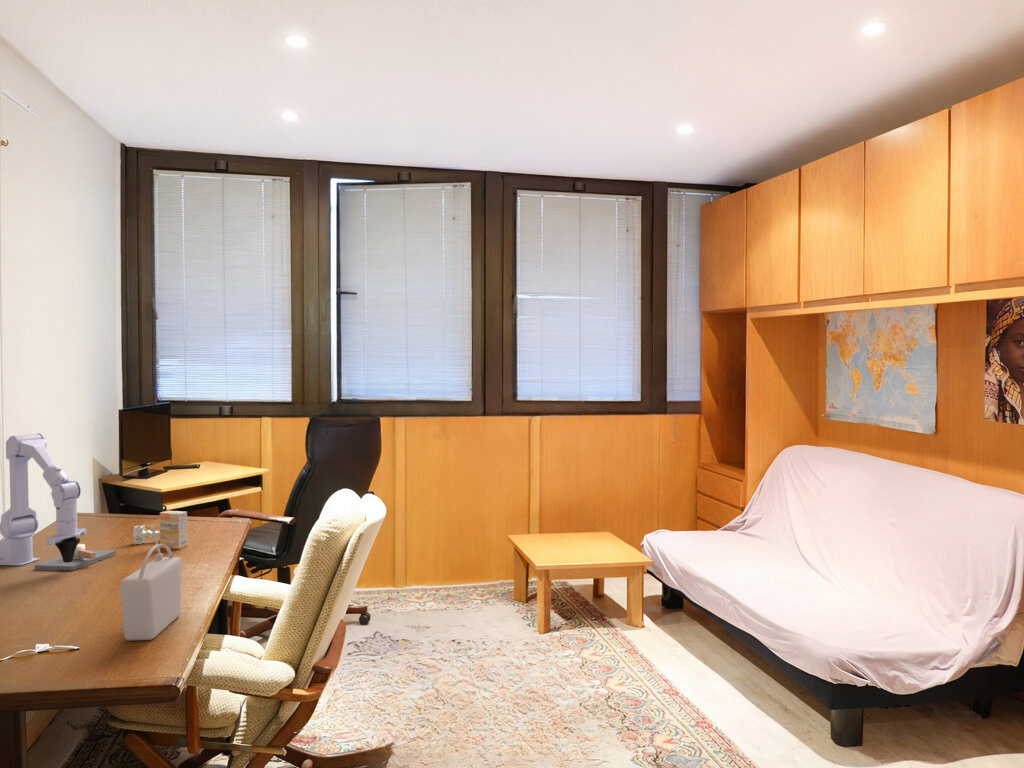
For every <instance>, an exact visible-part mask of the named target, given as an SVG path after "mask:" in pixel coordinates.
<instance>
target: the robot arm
mask: <svg viewBox="0 0 1024 768" xmlns="http://www.w3.org/2000/svg"><path fill="white" fill-rule="evenodd" d="M8 437H9V438H8V439H7V440H6V441H5V457H6V460H8V461H9V465H8V466H9V467H8V468H9V498H10V499H9V500H10V501H9V504H10V507H9V509H7V510H6V511H5V512H3V513H2V514H1V515H0V535H1V536H2V538H0V566H24V565H27V564H30V563H33V562H36V561H39V560H40V557H34V553H33V552H34V551H33V549H34V548H33V546H34V545H33V544H34V543H33V536H34V535H35V532H37V530H38V529H39V519H38V516H37V511H36V510H35V509H33V508H31V507H30V503H29V500H30V499H29V471H28V470H29V461H30V460H31V459H33V460H34V461H35V463H36V464H38V466H39V468H41V470H43V471H42V472H43V473H42V477H43V479H44V480H45V482H46V483H47V485H48V486H49V487H50V489H51V492H50V495H51V498H52V501H53V506H54V507H55V513H56V514H55V515H56V516H55V517H56V519H55V520H56V523H55V524H56V525H55V526H56V533H55V535H53V536H51V537H48V538H46V545H47V546H53V545H54V546H56V548H57V550H59V553H60V556H62V558H63V561H64V562H67V563H69V562H72V560H73V556H74V553H75V550H76V547H77V545H78V544H80V541H81V537H79V536H85V535H87V530H88V529H87V528H78V507H77V506H78V505H77V504H78V503H77V501H78V500H77V499H79V498H80V496H81V491H82V490H81V487H80V484H79V482H78V481H76V480H74V479H72V478H71V479H70V477H69V476H68V475H67V473H66V472H65V471H64V469H63V467H62V466H61V465H58V464H55V462H54V461H53V459H52V457H51V455H50V454H49V452H48V449H47V447H48V441H47V439H46V437H45V435H44V434H42V433H35V434H23V435H10V436H8Z"/></svg>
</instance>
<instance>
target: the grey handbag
mask: <svg viewBox="0 0 1024 768" xmlns="http://www.w3.org/2000/svg"><path fill="white" fill-rule="evenodd" d="M150 529H151V531H152V532H153V536H152V537H153V539H154V543H155V545H153V546H152V547H151V548H150V549H149V551H148V552H147V554H146V555H145V557H144V558H143V559H144V560H143V562H142V564H141V567H140V568H139V569H137V570H135V571H134V572H133V573H131V574H130V575H128V576H126V577H125V578H123V579H122V581H121V582H120V587H119V590H120V600H121V609H122V621H123V622H122V623H121V625H120V628H121V629H123V630H124V631H123V633H124V639H125V640H126V641H130V642H131V641H150V640H151V641H152V640H153V639H155V638H156V637H157V636H159V634H160V633H161V632H163V631H164V630H165V629H166V628H167V627H169V626H170V624H171V623H173V622H174V621H175V620H176V619H177V618H178V617H179V616H180V615H181V606H182V605H181V604H182V578H183V577H182V570H183V562H182V559H181V557H180V556H179V557H178V556H174V555H173V553H172V549H169V547H168V546H167V545H164V544H160V543H159V541H158V538H157V537H158V536H156V534H155V531H156V528H155V526H154V525H151V526H150ZM160 545H162V546H164V547H165V548H164V549H165V550H166V551H167V553H168V557H167V556H166V557H164V554H163V553H161V548H160ZM155 549H156V551H157V553H155V555H154V559H152V560H151V561H150V562H149V558H150V557H151V555H152V553H153V552H154V550H155Z"/></svg>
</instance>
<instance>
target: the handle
mask: <svg viewBox="0 0 1024 768" xmlns="http://www.w3.org/2000/svg"><path fill="white" fill-rule="evenodd" d="M88 550H89V549H86V544H84V543H78V545H77V547H76V550H75V553H74V556H73V557H75V556H80V557H84V558H88V559H95V552H92V551H88Z"/></svg>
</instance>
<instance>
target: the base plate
mask: <svg viewBox="0 0 1024 768" xmlns="http://www.w3.org/2000/svg"><path fill="white" fill-rule="evenodd" d="M87 550H88V551H92V552H95V559H88V558H84V557H80V556H75V557H73V560H72V562H69V563H67V562H64V561H63V558H62V555H60V556H57V557H55V558H51V559H49V560H46V561H42V562H41V563H37V564H34V570H37V571H58V570H75V571H77V570H76V569H78V568H80V569H82V568H81V567H83V566H86V565H88V564H91V563H94V562H96V561H99V560H101V559H104V558H106V557H109V556H111V555H114V554H116V555H117V550H105V549H103V550H102V549H101V550H100V549H99V550H98V549H87ZM104 560H105V559H104ZM99 562H100V561H99ZM96 563H97V562H96ZM94 564H95V563H94ZM91 565H92V564H91ZM88 566H89V565H88ZM86 567H87V566H86ZM83 568H84V567H83ZM78 570H79V569H78Z"/></svg>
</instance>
